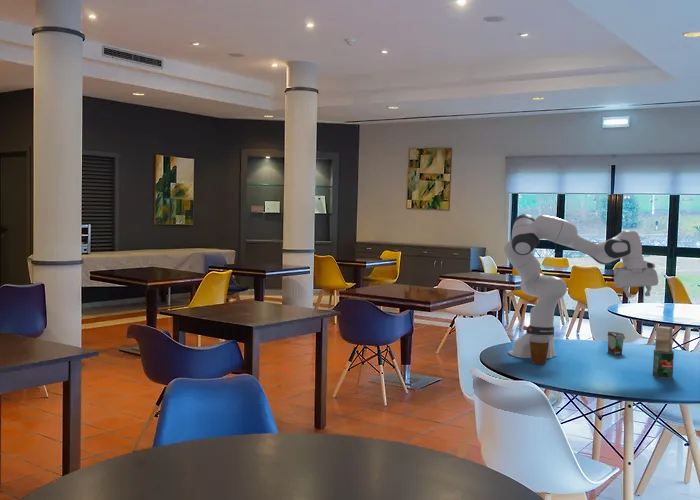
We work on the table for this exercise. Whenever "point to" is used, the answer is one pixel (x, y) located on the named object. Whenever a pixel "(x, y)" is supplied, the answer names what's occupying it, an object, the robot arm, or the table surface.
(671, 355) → the canned tomato
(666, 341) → the oak block
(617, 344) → the food container
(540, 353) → the disposable coffee cup
